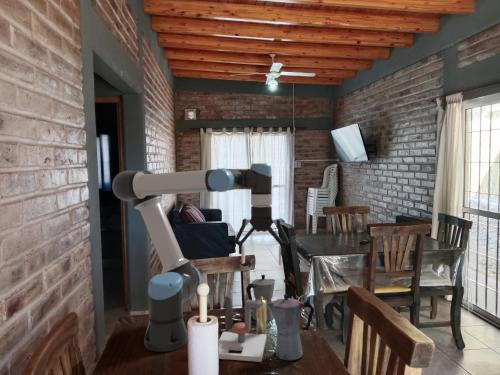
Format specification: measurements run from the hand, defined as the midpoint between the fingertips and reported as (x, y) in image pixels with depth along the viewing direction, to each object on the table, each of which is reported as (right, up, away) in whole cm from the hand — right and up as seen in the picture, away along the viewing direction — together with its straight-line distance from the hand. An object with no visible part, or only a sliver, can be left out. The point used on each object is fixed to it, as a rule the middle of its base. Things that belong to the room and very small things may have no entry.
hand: (261, 263), depth 130 cm
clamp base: (-7, -27, -8) cm, 29 cm away
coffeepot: (0, -26, +16) cm, 31 cm away
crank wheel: (-7, -25, -7) cm, 27 cm away
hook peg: (0, -27, +1) cm, 27 cm away
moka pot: (+9, -28, -13) cm, 32 cm away
